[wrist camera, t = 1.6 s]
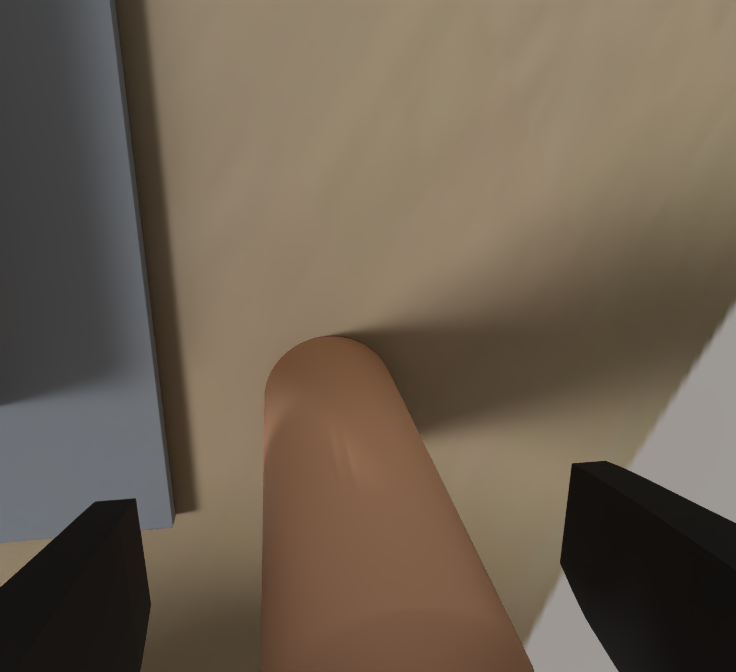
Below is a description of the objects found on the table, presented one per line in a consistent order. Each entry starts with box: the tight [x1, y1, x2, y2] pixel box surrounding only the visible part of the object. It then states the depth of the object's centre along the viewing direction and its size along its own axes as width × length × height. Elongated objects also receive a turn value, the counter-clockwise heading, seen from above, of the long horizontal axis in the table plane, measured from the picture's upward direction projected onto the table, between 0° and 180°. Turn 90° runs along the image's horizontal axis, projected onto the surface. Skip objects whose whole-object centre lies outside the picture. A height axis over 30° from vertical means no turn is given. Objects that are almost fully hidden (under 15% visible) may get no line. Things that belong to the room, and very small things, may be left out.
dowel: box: [261, 336, 534, 672], centre depth 11 cm, size 3×3×9 cm
